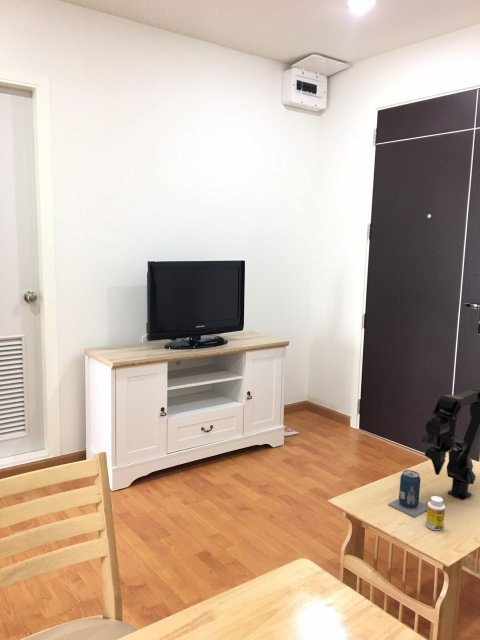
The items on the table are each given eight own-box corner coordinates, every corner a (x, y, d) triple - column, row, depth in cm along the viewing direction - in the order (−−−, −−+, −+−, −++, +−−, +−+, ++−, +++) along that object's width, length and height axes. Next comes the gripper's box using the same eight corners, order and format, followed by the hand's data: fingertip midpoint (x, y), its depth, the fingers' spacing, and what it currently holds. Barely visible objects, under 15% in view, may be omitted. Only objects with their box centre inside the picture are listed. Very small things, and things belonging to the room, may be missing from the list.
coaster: (405, 496, 202) (405, 495, 202) (431, 508, 193) (431, 506, 193) (387, 505, 195) (388, 503, 195) (414, 517, 187) (414, 516, 186)
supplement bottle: (436, 533, 177) (438, 504, 176) (422, 525, 182) (424, 497, 180) (446, 528, 180) (449, 500, 179) (432, 520, 185) (435, 493, 183)
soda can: (408, 498, 199) (411, 468, 197) (422, 506, 193) (425, 475, 191) (394, 501, 196) (396, 471, 194) (408, 510, 190) (410, 479, 188)
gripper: (441, 419, 204) (437, 457, 206) (413, 429, 192) (410, 470, 195) (469, 427, 195) (465, 467, 198) (441, 438, 184) (437, 481, 186)
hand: (444, 471), depth 194 cm, fingers open, 9 cm apart
